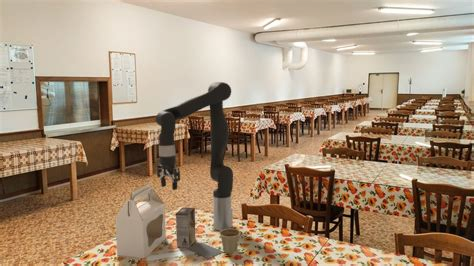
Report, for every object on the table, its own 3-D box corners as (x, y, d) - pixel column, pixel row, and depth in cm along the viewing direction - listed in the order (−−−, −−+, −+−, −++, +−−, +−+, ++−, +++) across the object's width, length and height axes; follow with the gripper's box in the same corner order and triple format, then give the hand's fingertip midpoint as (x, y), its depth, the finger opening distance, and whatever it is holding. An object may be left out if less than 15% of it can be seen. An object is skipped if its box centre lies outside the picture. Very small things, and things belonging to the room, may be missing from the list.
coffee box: (183, 238, 179) (182, 206, 177) (195, 239, 178) (195, 207, 176) (176, 246, 170) (175, 213, 168) (189, 247, 169) (188, 214, 167)
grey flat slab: (201, 242, 174) (201, 242, 174) (223, 252, 164) (223, 251, 164) (186, 248, 168) (186, 248, 167) (208, 258, 158) (208, 258, 158)
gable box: (144, 259, 158) (141, 195, 155) (116, 255, 161) (113, 193, 158) (166, 238, 179) (164, 182, 176) (141, 235, 183) (139, 180, 179)
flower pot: (225, 257, 159) (225, 238, 158) (216, 249, 167) (216, 230, 166) (244, 252, 163) (244, 234, 162) (234, 244, 172) (234, 227, 171)
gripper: (183, 154, 170) (185, 188, 172) (164, 151, 179) (166, 183, 182) (170, 157, 164) (172, 192, 167) (151, 153, 174) (153, 187, 176)
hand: (169, 187), depth 174 cm, fingers open, 8 cm apart
